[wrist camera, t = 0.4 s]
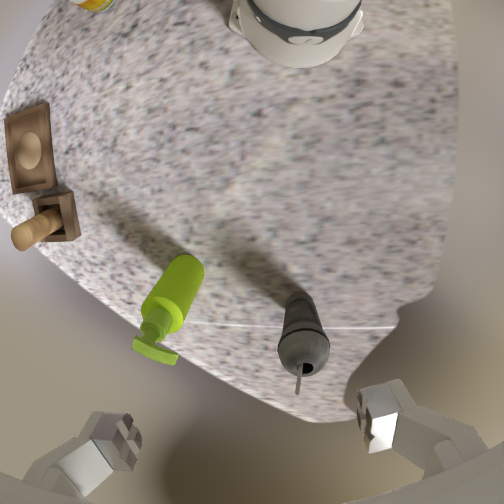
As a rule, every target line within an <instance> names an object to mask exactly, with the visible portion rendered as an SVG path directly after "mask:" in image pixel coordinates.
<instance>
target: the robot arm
mask: <svg viewBox="0 0 504 504" xmlns="http://www.w3.org/2000/svg"><path fill="white" fill-rule="evenodd" d="M361 1H362V0H233V4H232V9H231V14H230V19H229V28H230V29H231V31H233V32H234V33H236V34H238V35H240V36H242V37H244V38H246V39H247V40H248V41H249V42H250V43H251V44H252V45H253V46H254V48H255V49H256V50H257V51H258V52H259V53H260V54H262V55H263V56H264V57H266V58H267V59H269V60H271V61H273V62H275V63H277V64H280V65H283V66H287V67H293V68H308V67H314V66H318V65H320V64H323V63H325V62H327V61H329V60H330V59H332V58H333V57H334V56H336V55H337V54H338V53H339V52H340V50H341V49H342V47H343V46H344V45H345V43H346V42H347V41H348V40H349V39H351V38H353V37H355V36H357V35H358V34H360V33H361V32H362V30H363V28H364V24H363V21H362V15H363V11H362V10H360V5H361ZM237 16H238V18H239V19H236V17H237ZM357 399H358V402H359V405H358V406H357V421H358V425H359V428H360V431H361V432H363V433H364V442H365V445H366V448H367V451H368V453H373V452H377V451H381V450H385V449H389V448H392V449H394V450H395V451H396V452H398V453H399V454H401V455H402V456H403V457H405V458H407V459H408V460H409V461H411V462H412V463H414V464H415V465H417V466H418V467H420V468H421V469H423V470H424V471H425V473H424V475H423V477H422V480H421V481H419V482H415V483H413V484H410V485H407V486H404V487H401V488H398V489H395V490H392V491H389V492H385V493H382V494H378V495H375V496H371V497H368V498H364V499H360V500H356V501H352V502H347V503H343V504H504V441H503V442H502V443H500V444H498V445H496V446H495V447H493V448H491V449H488V447H487V446H486V444H485V443H484V441H483V440H482V438H481V437H480V436H479V434H478V432H477V431H476V430H475V428H474V427H472V426H470V425H467V424H465V423H462V422H460V421H457V420H455V419H452V418H450V417H447V416H445V415H442V414H440V413H438V412H435V411H433V410H430V409H428V408H425V407H423V406H418V407H417V405H416V404H415V402H414V400H413V399H412V397H411V396H410V394H409V392H408V391H407V389H406V387H405V386H404V384H403V383H402V381H401V380H400V379H396V380H392V381H389V382H385V383H382V384H379V385H375V386H371V387H367V388H363V389H359V390H358V392H357ZM133 421H134V420H133V418H132V416H131V415H130V414H128V413H117V412H100V411H95V412H93V413H92V414H91V416H90V417H89V419H88V421H87V422H86V424H85V426H84V427H83V429H82V431H81V433H80V434H79V436H78V437H74V438H72V439H71V440H69V441H67V442H66V443H64V444H62V445H61V446H59V447H57V448H56V449H54V450H52V451H51V452H49V453H47V454H46V455H44V456H42V457H40V458H39V459H37V460H35V461H34V462H33V463H32V465H31V467H30V468H29V470H28V471H27V473H26V475H25V476H24V478H23V480H19V479H17V478H14V477H12V476H9V475H7V474H5V473H3V472H0V504H97V503H93V502H89V501H88V500H86V498H85V497H86V495H88V494H89V493H90V492H91V491H92V490H93V489H95V488H96V487H97V486H98V485H99V484H100V483H101V482H102V481H103V480H104V479H106V478H107V477H108V476H109V475H110V474H111V473H112V472H113V470H117V471H128V472H133V469H134V467H135V464H136V461H137V458H136V456H135V455H136V454H137V453H138V452H140V450H141V447H142V436H141V433H140V431H139V429H138V428H137V427H135V426H134V425H133Z"/></svg>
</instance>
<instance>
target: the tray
mask: <svg viewBox="0 0 504 504" xmlns="http://www.w3.org/2000/svg"><path fill="white" fill-rule="evenodd" d="M4 124H5V138H6V148H7V157H8V165H9V172H10V179H11V185H12V191H13V195H14V194H19V193H25V192H30V191H36V190H42V189H48V188H52V187H55V186H57V179H56V172H55V164H54V156H53V147H52V137H51V125H50V109H49V104H40V105H38V106H35V107H32V108H30V109H27V110H25V111H22V112H20V113H17V114H15V115H12V116H10V117H8V118H5V119H4Z"/></svg>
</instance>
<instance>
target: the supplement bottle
mask: <svg viewBox="0 0 504 504" xmlns="http://www.w3.org/2000/svg"><path fill="white" fill-rule="evenodd" d="M69 1H70V2H71V3H73V4H75V5H78V6H80V7H82V8H84V9H87V10H89V11H91V12H94V13H100V12H103V11H105V10H107V9H108V8H109V7H110V6H111V5H112V4H113V3H114V1H115V0H69Z"/></svg>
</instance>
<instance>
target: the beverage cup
mask: <svg viewBox="0 0 504 504" xmlns="http://www.w3.org/2000/svg"><path fill="white" fill-rule="evenodd" d="M329 351H330V343H329V339H328V338H327V336H326V334H325V332H324V331H323V329H322V325H321V322H320V319H319V316H318V313H317V310H316V307H315V304H314V302H313V299H312V298H311V297H310V296H309V295H308V294H305V293H297V294H294V295H292V296H291V297H290V298H289V299H288V301H287V306H286V310H285V318H284V325H283V332H282V336H281V338H280V341H279V344H278V354H279V358H280V360H281V363H282V365H283V366H284V368H285V369H286V370H287V371H288V372H290V373H292V374H293V375H296V376H297V383H296V391H295V394H296V395H299V393H300V385H301V377H307V376H312V375H314V374H316V373H318V372H319V371H320V370H321V369H322V368H323V367H324V366H325V364H326V362H327V360H328V357H329Z"/></svg>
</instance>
